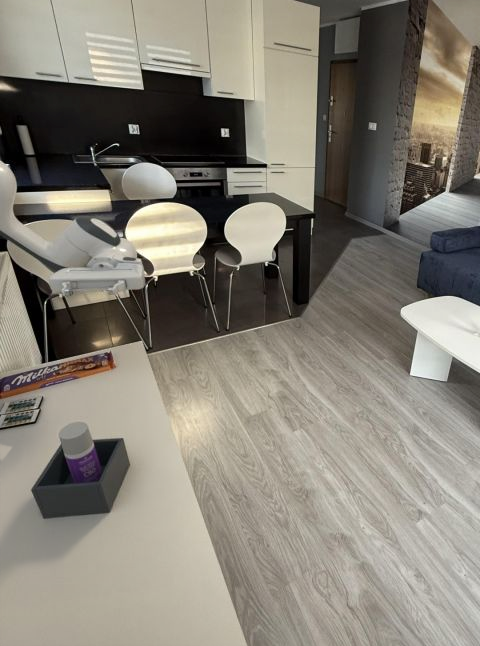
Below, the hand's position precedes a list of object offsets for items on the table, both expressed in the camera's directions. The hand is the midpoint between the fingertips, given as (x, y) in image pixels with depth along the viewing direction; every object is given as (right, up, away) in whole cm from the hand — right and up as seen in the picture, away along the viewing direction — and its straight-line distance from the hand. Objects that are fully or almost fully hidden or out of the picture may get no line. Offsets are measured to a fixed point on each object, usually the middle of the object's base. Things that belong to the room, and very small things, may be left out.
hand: (89, 292), depth 92 cm
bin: (+8, -40, -12) cm, 43 cm away
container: (+9, -40, -12) cm, 42 cm away
